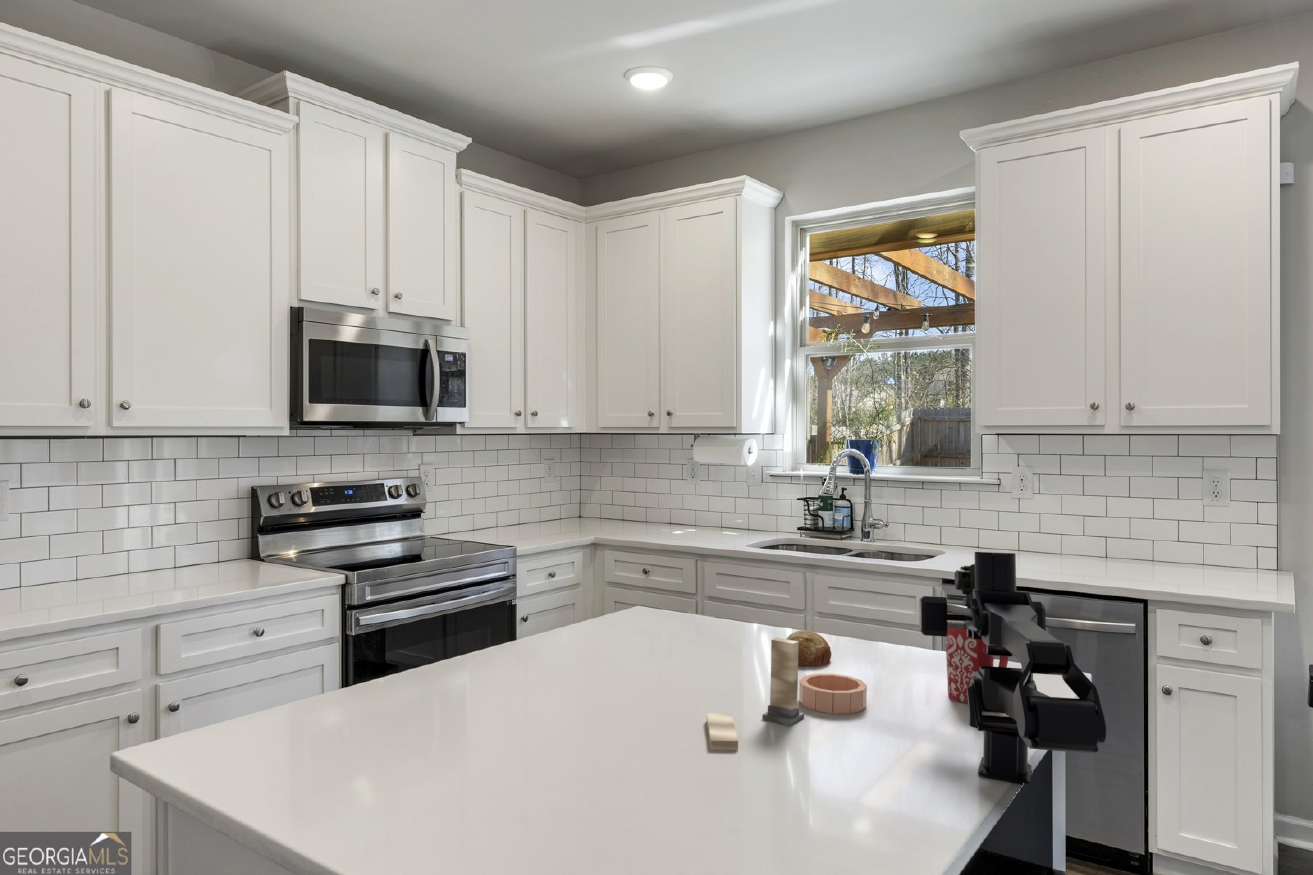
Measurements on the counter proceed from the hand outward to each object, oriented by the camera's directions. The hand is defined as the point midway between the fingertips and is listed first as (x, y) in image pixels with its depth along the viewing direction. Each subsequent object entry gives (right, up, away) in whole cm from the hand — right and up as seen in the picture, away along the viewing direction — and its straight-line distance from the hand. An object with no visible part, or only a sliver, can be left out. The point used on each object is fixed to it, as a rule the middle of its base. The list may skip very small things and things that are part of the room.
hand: (970, 616), depth 142 cm
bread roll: (-22, -16, +32) cm, 42 cm away
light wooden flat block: (-43, -16, -13) cm, 48 cm away
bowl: (-23, -16, +4) cm, 28 cm away
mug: (+3, -17, +7) cm, 18 cm away
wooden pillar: (-32, -16, -5) cm, 36 cm away
